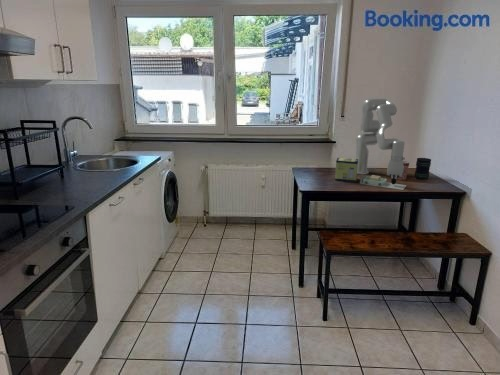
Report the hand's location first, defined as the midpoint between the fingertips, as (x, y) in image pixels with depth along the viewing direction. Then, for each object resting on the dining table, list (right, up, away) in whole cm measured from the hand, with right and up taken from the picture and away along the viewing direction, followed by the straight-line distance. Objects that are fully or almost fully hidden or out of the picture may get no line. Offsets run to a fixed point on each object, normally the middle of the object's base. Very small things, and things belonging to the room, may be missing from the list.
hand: (393, 183), depth 238 cm
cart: (-11, 0, +7) cm, 13 cm away
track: (-6, -1, +4) cm, 7 cm away
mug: (+12, +4, +18) cm, 22 cm away
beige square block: (-11, +1, +7) cm, 13 cm away
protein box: (-29, +3, +18) cm, 34 cm away
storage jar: (+30, +4, +20) cm, 37 cm away
